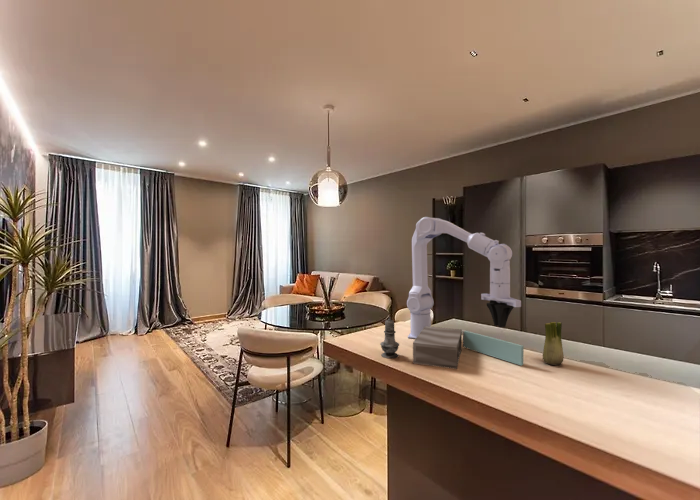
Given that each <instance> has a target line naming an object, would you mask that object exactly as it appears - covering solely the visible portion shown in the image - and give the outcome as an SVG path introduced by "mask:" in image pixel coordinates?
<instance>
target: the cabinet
mask: <svg viewBox="0 0 700 500" xmlns="http://www.w3.org/2000/svg"><path fill="white" fill-rule="evenodd" d="M462 347H463V329H459V328H448V327H438V326H437V327H436V326H431V327H429V326H425V327H424V328H423V329H422V331H421V332H420V334H419V335H418V336H417V338H416V339H415V338H414V340H413V341H412V364H415V365H423V366H430V367H431V366H432V367H437V368H438V367H439V368H443V369H444V368H445V369H453V370H457V369H458V365H459V362H460V357H461V356H460V355H461V353H462V352H461V351H462Z"/></svg>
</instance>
